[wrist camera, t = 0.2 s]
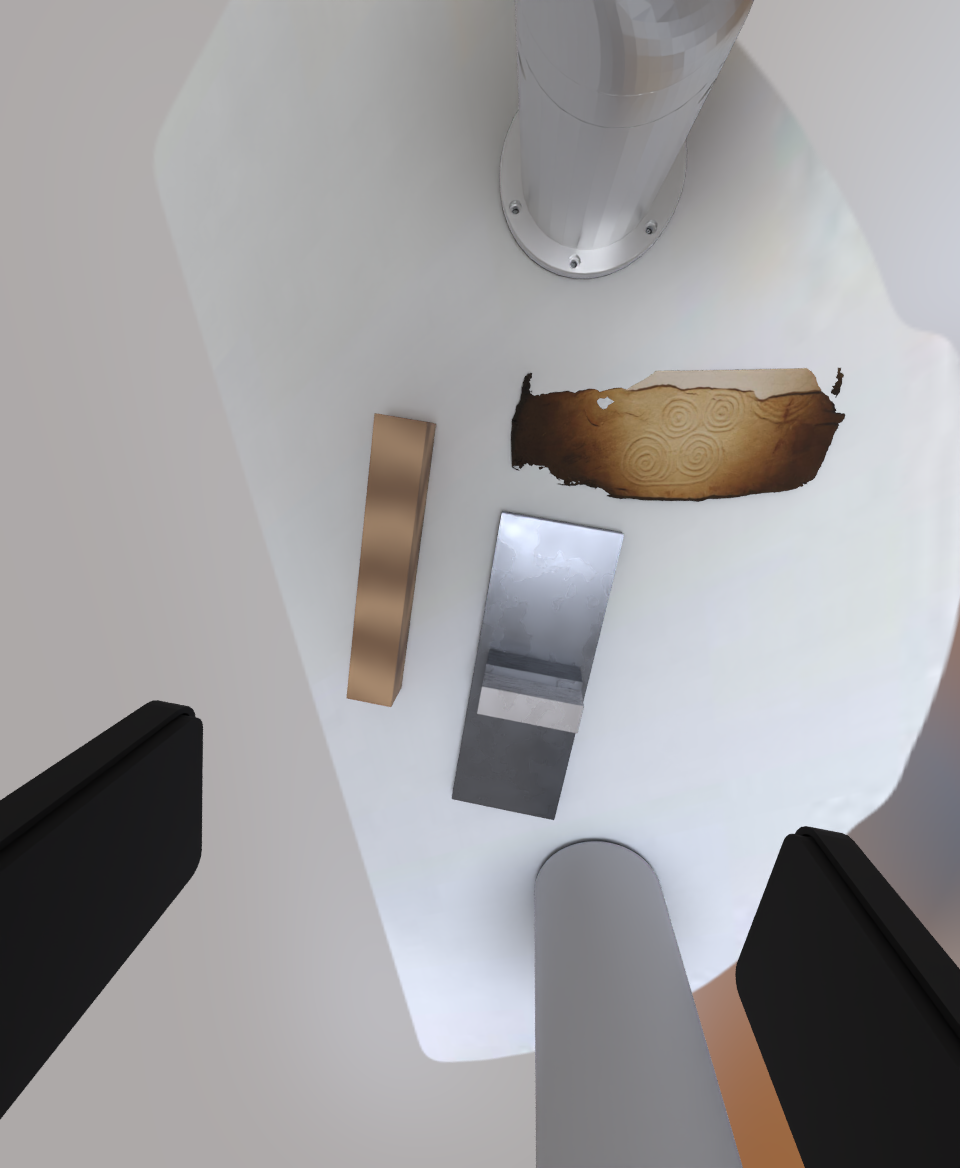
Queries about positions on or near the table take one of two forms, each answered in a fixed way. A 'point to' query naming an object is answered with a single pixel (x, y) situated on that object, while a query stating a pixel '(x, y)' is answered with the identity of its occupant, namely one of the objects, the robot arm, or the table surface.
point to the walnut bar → (389, 556)
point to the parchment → (682, 434)
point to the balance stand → (534, 661)
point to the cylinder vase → (618, 1024)
